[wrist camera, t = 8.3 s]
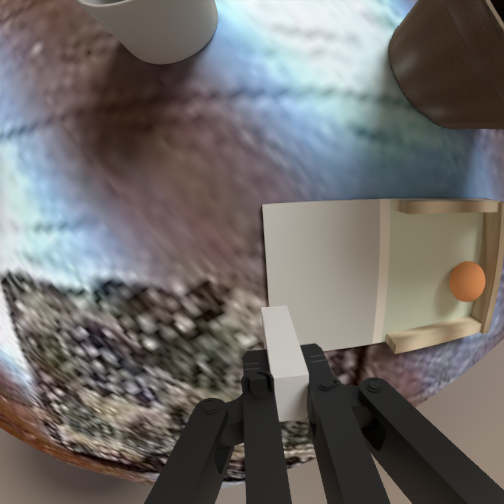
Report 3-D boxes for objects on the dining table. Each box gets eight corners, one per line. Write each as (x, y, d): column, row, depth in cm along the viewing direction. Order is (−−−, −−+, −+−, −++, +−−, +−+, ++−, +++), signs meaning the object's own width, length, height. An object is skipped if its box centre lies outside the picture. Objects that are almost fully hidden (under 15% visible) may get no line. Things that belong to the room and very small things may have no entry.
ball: (462, 314, 22) (486, 304, 23) (472, 276, 21) (496, 268, 21) (438, 293, 26) (463, 285, 26) (446, 257, 24) (470, 251, 25)
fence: (383, 338, 28) (396, 356, 24) (391, 198, 24) (410, 202, 21) (471, 319, 27) (488, 332, 24) (486, 198, 24) (507, 202, 21)
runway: (271, 352, 28) (271, 356, 27) (262, 204, 24) (262, 205, 24) (471, 319, 27) (474, 321, 27) (486, 198, 24) (489, 199, 23)
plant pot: (332, 20, 20) (402, -93, 4) (441, -2, 18) (523, -59, 2) (419, 174, 24) (562, 189, 8) (508, 122, 22) (614, 118, 6)
